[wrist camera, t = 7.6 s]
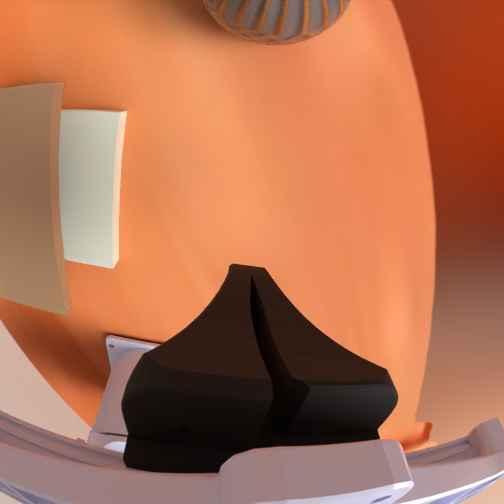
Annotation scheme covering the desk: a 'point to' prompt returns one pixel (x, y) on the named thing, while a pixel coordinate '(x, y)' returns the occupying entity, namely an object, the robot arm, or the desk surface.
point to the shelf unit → (31, 198)
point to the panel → (90, 184)
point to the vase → (276, 18)
